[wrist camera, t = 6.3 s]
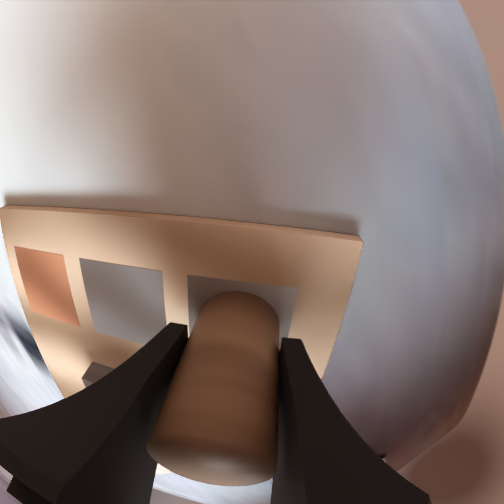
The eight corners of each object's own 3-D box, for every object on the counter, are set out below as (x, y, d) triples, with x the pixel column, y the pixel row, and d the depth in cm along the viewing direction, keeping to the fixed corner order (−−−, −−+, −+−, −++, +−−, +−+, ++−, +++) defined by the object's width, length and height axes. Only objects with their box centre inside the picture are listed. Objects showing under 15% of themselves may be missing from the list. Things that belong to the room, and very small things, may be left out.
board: (289, 445, 16) (288, 469, 14) (68, 395, 16) (58, 412, 14) (359, 235, 10) (376, 258, 8) (6, 205, 10) (-20, 217, 8)
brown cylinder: (272, 360, 11) (265, 490, 6) (197, 348, 11) (156, 471, 6) (286, 297, 10) (290, 446, 5) (199, 284, 10) (134, 419, 5)
